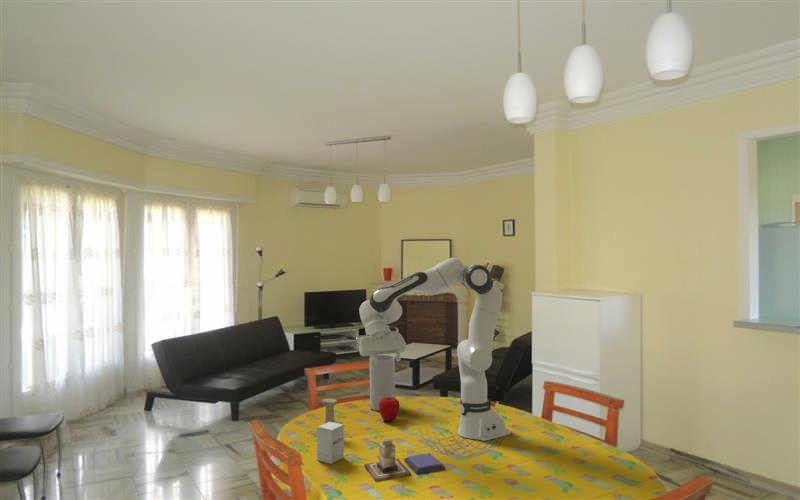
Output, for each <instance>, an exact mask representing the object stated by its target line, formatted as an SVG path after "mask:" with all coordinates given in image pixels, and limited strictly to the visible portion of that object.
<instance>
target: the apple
mask: <svg viewBox="0 0 800 500" xmlns="http://www.w3.org/2000/svg"><path fill="white" fill-rule="evenodd" d="M378 412H379V413H380V416H381V419H383V421H385V422H391V421H392V422H393V421H394V420H396V419H397V417H398V414H399V412H400V401H399V400H398V399H397V398H396V397H395V398H392V397H389V398H383V399H381V400H380V402H379V411H378Z"/></svg>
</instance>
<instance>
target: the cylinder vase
mask: <svg viewBox="0 0 800 500" xmlns="http://www.w3.org/2000/svg"><path fill="white" fill-rule="evenodd" d="M375 357H376V358H379V360H380V362H379V364H375V362H374V360H372V359H371V358H370V357H369V408H370V410H373V411H375V412H380V411H379V402H380V400H381V399H383V398H389V397H392V398H396V382H395V381H396V374H395V373H396V372H395V371H396V367H395V365H396V364H395V361H396V360H395V357H396V356H393V355H389V354H381V355H375Z"/></svg>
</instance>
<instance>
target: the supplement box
mask: <svg viewBox="0 0 800 500" xmlns="http://www.w3.org/2000/svg"><path fill="white" fill-rule="evenodd" d="M344 429H345V428H344V424H343V423H339V422H338V423H337V422H334V423H333V422H328V423H325V422H324V424H321V425H319V426H317V427H316V460H317V461H319V462H321V463H326V464H329V465H333V464H334V463H336V462H339V460H341V459H344V458H345V454H344V453H345V451H344V450H345V449H344V448H345V447H344V446H345V445H344V444H345V443H344V441H345V440H344V439H345V434H344V432H345V430H344Z"/></svg>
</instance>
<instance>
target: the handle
mask: <svg viewBox="0 0 800 500" xmlns="http://www.w3.org/2000/svg"><path fill="white" fill-rule="evenodd" d="M321 403H322V405H324V407H325V418H324V424H325V423H328V422H333V423H335V409H334V408H335V407H334V406H336V405H337V404H338V400H337V399H335V398H324V399H322V400H321Z"/></svg>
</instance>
